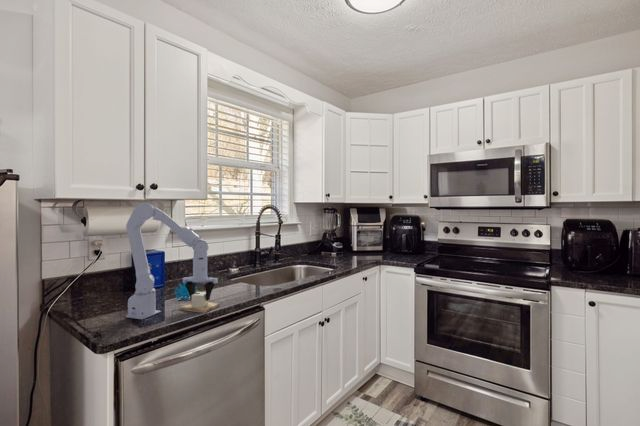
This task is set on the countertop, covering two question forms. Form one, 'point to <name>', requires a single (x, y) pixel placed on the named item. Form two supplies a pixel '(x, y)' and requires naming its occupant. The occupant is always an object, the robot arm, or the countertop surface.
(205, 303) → the white cube
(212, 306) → the shaft plate
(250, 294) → the countertop surface
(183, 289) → the gear
